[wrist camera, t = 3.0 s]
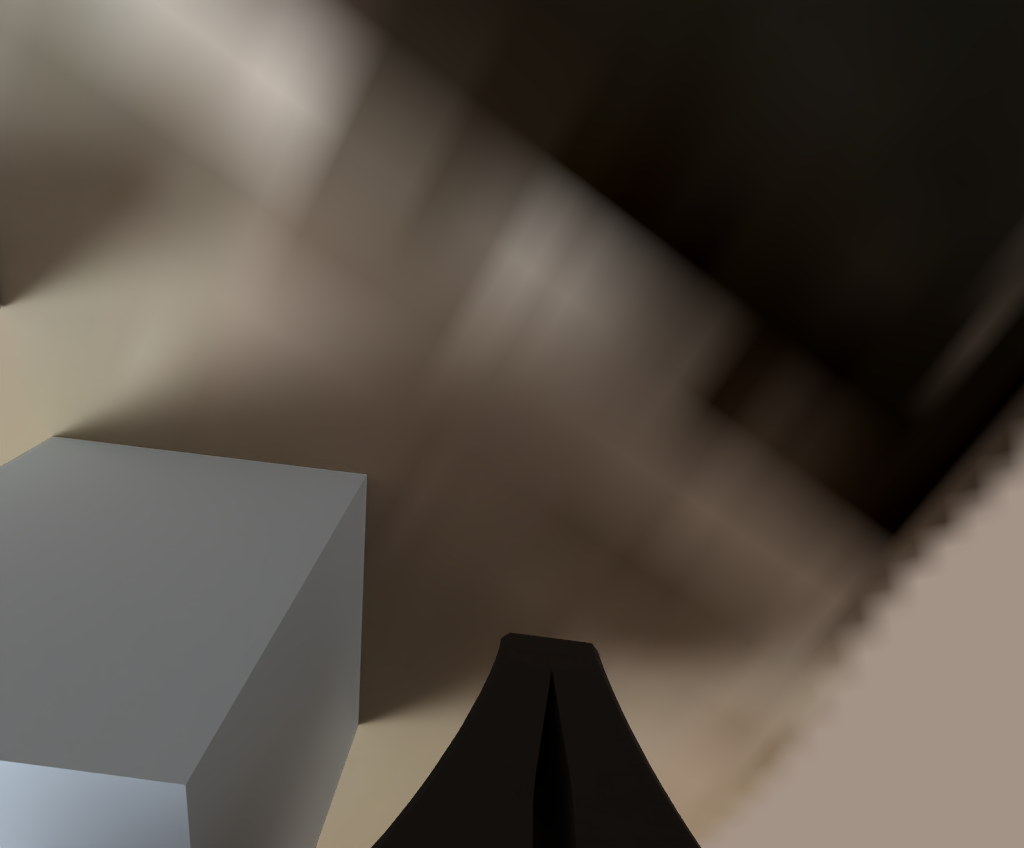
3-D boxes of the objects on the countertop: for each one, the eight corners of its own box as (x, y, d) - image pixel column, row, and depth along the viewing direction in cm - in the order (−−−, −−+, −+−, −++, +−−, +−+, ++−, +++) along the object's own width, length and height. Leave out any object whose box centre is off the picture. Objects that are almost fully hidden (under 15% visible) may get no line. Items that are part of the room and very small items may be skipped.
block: (359, 722, 13) (212, 1141, 8) (88, 688, 14) (-248, 1075, 8) (368, 473, 12) (186, 785, 6) (54, 434, 12) (-410, 705, 6)
